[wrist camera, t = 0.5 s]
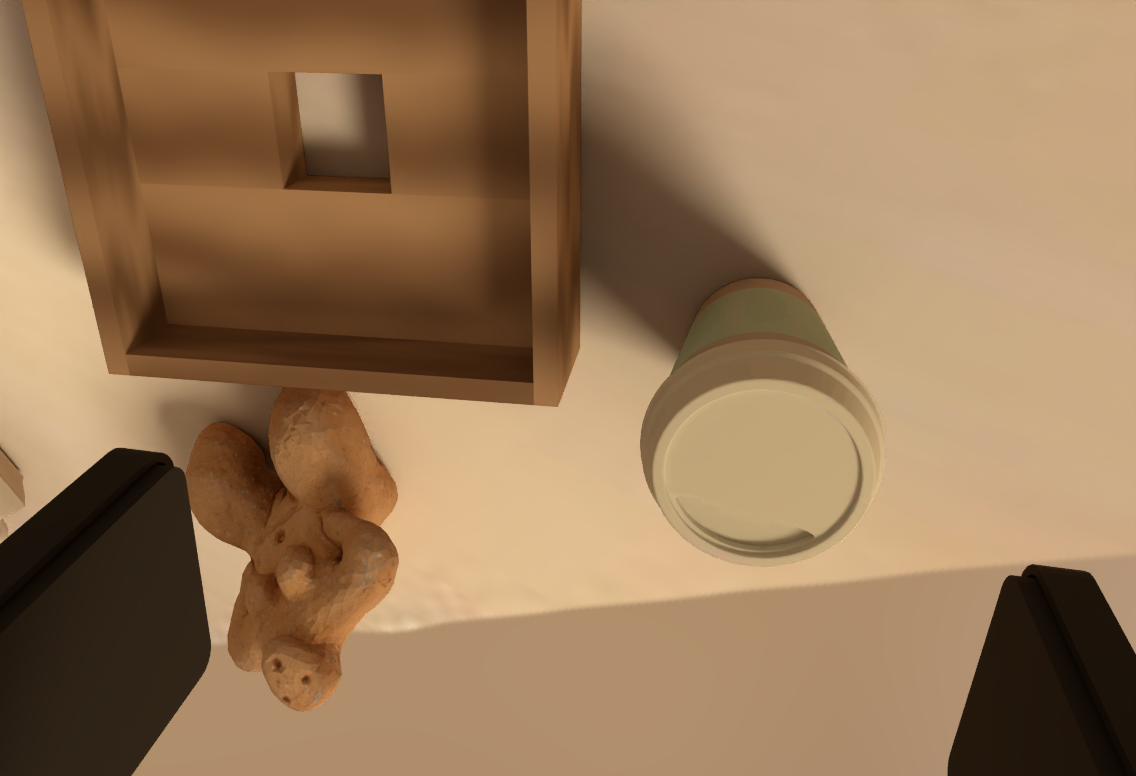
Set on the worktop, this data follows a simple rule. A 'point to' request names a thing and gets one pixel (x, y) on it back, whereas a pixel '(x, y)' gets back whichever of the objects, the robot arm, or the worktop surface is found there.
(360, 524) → the figurine
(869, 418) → the coffee cup
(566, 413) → the worktop surface
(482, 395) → the bore box
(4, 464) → the stamp
